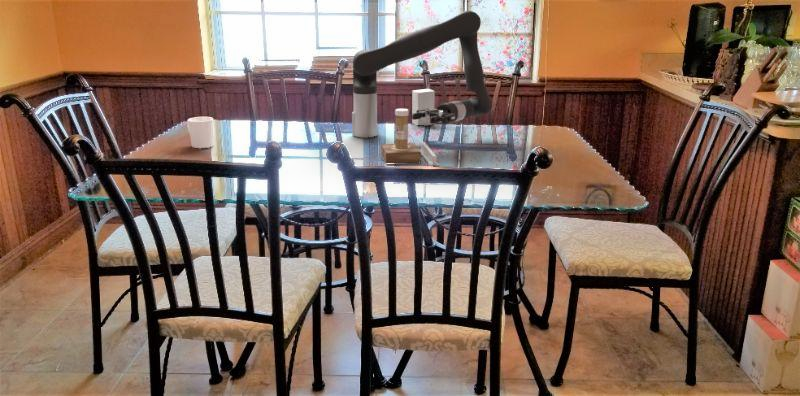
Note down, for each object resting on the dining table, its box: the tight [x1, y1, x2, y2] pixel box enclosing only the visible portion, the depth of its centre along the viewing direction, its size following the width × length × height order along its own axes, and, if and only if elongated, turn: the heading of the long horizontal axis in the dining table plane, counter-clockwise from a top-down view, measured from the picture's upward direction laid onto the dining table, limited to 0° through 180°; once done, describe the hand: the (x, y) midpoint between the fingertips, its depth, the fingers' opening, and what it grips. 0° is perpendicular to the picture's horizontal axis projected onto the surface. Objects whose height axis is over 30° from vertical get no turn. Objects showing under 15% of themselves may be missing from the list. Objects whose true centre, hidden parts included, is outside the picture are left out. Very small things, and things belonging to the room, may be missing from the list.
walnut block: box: [380, 142, 422, 165], centre depth 221 cm, size 12×12×4 cm
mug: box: [186, 116, 215, 149], centre depth 235 cm, size 11×9×10 cm
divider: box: [419, 141, 440, 167], centre depth 223 cm, size 20×3×4 cm, turn 10°
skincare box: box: [411, 88, 436, 126], centre depth 272 cm, size 8×6×15 cm
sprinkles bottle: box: [394, 108, 410, 149], centre depth 218 cm, size 5×5×13 cm
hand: (421, 118), depth 225 cm, fingers open, 8 cm apart
